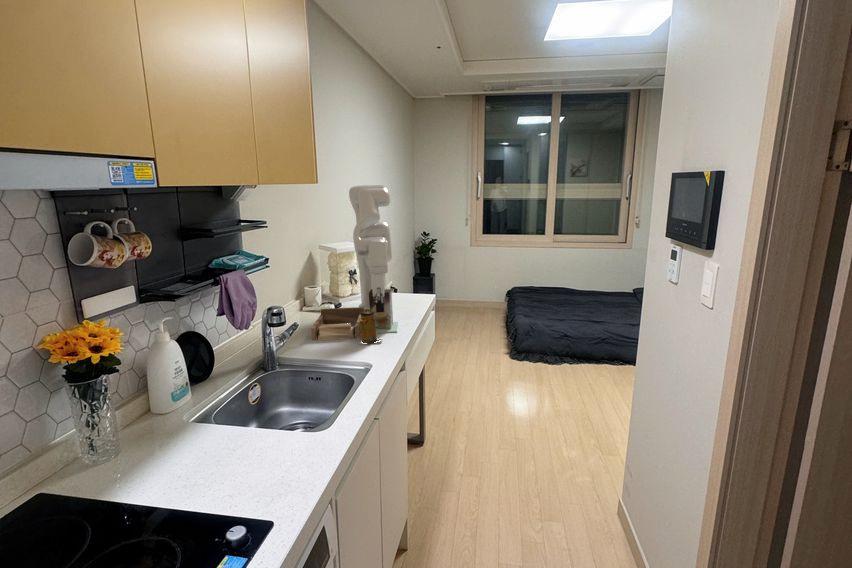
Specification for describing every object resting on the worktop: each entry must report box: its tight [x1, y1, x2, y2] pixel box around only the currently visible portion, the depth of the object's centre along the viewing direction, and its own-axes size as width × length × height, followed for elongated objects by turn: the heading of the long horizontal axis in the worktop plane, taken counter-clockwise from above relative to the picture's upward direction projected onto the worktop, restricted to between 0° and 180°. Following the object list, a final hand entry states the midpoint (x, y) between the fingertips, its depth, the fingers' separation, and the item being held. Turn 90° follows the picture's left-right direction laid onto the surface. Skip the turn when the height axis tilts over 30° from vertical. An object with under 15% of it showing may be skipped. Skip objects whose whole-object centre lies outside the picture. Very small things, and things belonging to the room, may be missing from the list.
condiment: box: [360, 310, 383, 345], centre depth 172 cm, size 7×8×12 cm
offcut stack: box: [317, 323, 355, 341], centre depth 179 cm, size 4×14×5 cm, turn 93°
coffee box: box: [369, 288, 394, 329], centre depth 187 cm, size 9×6×16 cm
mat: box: [376, 321, 399, 334], centre depth 189 cm, size 13×13×1 cm
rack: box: [310, 306, 365, 341], centre depth 187 cm, size 22×19×7 cm
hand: (381, 308), depth 187 cm, fingers open, 9 cm apart
